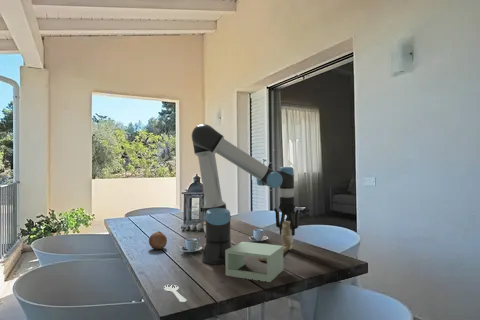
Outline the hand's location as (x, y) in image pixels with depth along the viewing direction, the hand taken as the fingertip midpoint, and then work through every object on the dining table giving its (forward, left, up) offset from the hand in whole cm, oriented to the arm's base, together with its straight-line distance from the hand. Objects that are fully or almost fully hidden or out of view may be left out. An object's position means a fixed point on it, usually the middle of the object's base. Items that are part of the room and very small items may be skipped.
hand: (287, 241), depth 177 cm
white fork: (-18, -72, -5) cm, 75 cm away
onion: (-63, -27, -4) cm, 68 cm away
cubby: (-1, -41, -4) cm, 41 cm away
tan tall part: (-2, -11, -4) cm, 12 cm away
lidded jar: (-54, +14, -4) cm, 56 cm away
